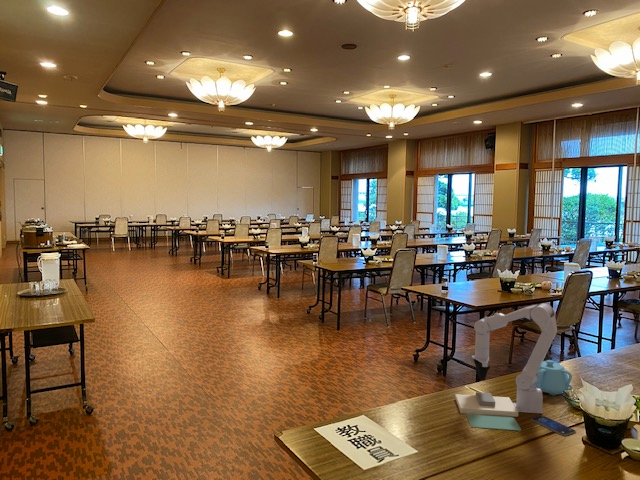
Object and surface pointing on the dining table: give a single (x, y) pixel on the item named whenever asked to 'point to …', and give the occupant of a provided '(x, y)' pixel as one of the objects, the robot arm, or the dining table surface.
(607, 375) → the dining table surface
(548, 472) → the dining table surface
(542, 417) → the smartphone
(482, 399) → the grey bevelled tile
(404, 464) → the dining table surface
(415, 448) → the dining table surface
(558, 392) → the decorative pot
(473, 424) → the mat
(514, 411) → the white flat board
